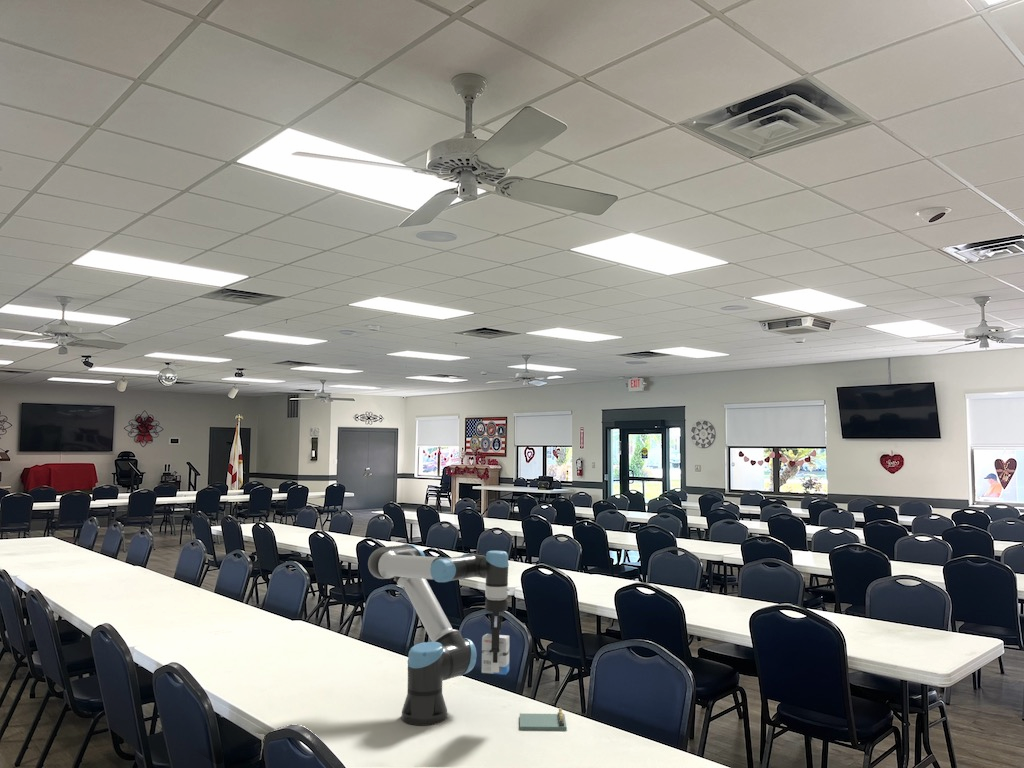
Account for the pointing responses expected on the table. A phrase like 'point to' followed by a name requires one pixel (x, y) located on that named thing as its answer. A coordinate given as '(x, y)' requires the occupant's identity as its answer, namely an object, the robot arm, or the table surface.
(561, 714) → the header board
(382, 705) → the table surface
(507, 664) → the ink box
